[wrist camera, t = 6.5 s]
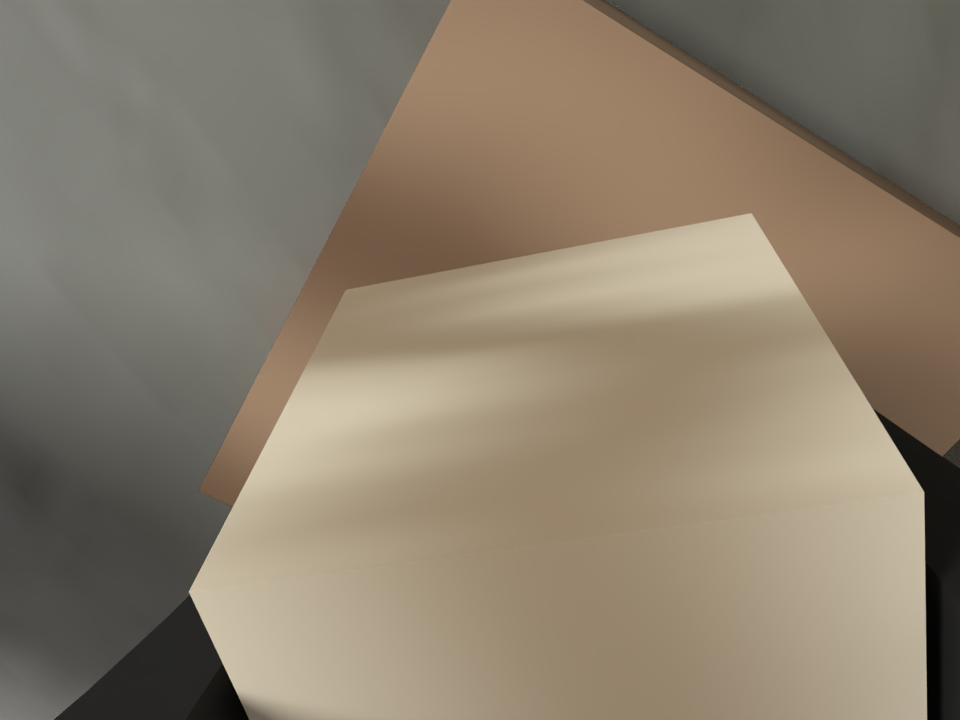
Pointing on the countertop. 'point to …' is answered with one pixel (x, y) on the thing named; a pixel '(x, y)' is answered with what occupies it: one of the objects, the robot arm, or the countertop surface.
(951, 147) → the countertop surface
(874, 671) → the ash block
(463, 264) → the walnut base
